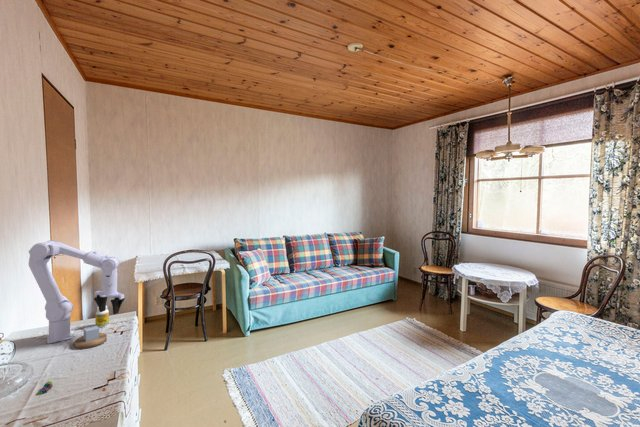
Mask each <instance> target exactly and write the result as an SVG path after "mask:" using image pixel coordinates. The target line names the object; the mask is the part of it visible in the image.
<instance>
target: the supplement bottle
mask: <svg viewBox="0 0 640 427" xmlns="http://www.w3.org/2000/svg"><path fill="white" fill-rule="evenodd" d="M109 310H110V309H108V305H107V304H106V309H105V311H103V312H100V311H99V308H98V306H97V309H96V312H95V325H97V327H98V328H105V327H107V326H108V325H109V324H110V311H109ZM95 325H94V326H95ZM104 326H105V327H104Z"/></svg>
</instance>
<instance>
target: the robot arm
mask: <svg viewBox="0 0 640 427" xmlns="http://www.w3.org/2000/svg"><path fill="white" fill-rule="evenodd" d="M28 254H29V259H28V267H29V270H30V271H31V273H32V275H33V278H34V279H35V282H36V283H37V285H38V287H39V289H40V291H41V294H42V296H43V298H44V300H45V305H44V309H45V318H46V319H47V320H48V334H47V336H46V339H47V340H46V342H47V344H54V343H57V342H63V341H67V340H72V338H73V337H72V331H71V312H72V311H73V310H74V305H73V303H72V302H71V301H70V300H68V297H66V296H64V295H62V293H61V291H60V289H59V286H58V284H57V281H56V280H55V278H54V276H53V274H52V271H51V270H50V267H49V265H48V262H49V261H50V260H51V258H52V257H54V256H55V255H65V256H69V257H73V258H76V259H80V260H82V261H83V264H86V265H89V266H92V267H96V268H99V269H100V270H101V271H102V278H101V279H102V280H101V290H97V291H94V296H95V297H94V298H93V300H94V302H95V303H96V305H97V307H98V308H99V311H100V312H103V311H105V309H106V305H107V300H108V298H111V300H110V303H111V305H112V314H113V315H116V314H119V312H120V309H121V306H122V304H123V302H124V301H125V294H124V293H121V292H119V291H118V267H119V265H120V260H119V258H118V257H115V256H110V255H108V254H107V255H104V254H101V253H99V252H98V251H96V250H95V251H88V252H86V251H83V250H81V249H78V248H76V247H74V246H71V245H68V244H66V243H63V242H62V241H61V242H60V241H56V240H53V239H52V240H51V239H50V240H46V241H43V242H38V243H35V244H34V245H32V246H31V248H30V249H28ZM112 298H113V299H112Z"/></svg>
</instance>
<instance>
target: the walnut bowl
mask: <svg viewBox="0 0 640 427" xmlns="http://www.w3.org/2000/svg"><path fill="white" fill-rule="evenodd" d="M104 342H105V343H106V342H107V333H104V332H99V338H98V339H94V340H91V341H87V342H86V341H85V340H84V338H83V335H81V336H78V338H75V341H74V348H75V349H79V350H87V349H88V350H89V349H93V348H96V347H99V346H101V345H104Z"/></svg>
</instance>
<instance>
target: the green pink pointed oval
mask: <svg viewBox="0 0 640 427" xmlns="http://www.w3.org/2000/svg"><path fill="white" fill-rule="evenodd" d="M52 388H53V382H52V381H47V382H46V383H44V385H43V387H41V389H40V390H39V391H38V392H37V393H36V394H35V395H34V396H36V397H37V396H41V395H44V394H47V393H48V392H49V391H50V390H51V389H52Z"/></svg>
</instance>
